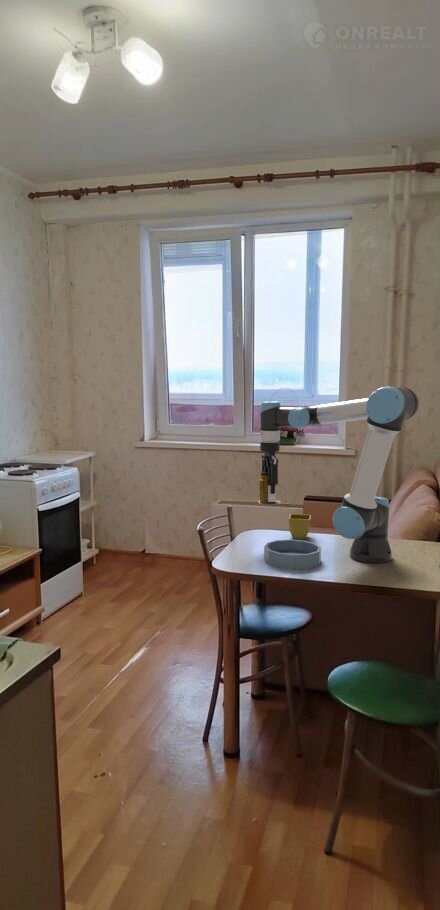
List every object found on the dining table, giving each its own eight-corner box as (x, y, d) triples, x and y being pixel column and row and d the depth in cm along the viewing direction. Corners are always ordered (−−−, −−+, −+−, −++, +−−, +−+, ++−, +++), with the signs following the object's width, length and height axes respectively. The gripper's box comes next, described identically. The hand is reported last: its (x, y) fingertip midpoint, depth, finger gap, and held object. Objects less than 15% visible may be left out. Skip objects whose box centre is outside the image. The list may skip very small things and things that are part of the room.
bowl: (308, 551, 224) (308, 538, 224) (329, 567, 205) (329, 553, 204) (258, 554, 220) (258, 541, 219) (274, 570, 200) (275, 556, 200)
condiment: (258, 500, 232) (258, 471, 231) (279, 501, 232) (280, 471, 231) (258, 504, 225) (259, 473, 224) (280, 504, 225) (281, 473, 223)
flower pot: (309, 540, 239) (310, 519, 238) (288, 539, 241) (288, 518, 240) (310, 535, 248) (311, 514, 247) (289, 534, 250) (290, 513, 248)
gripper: (253, 439, 234) (253, 495, 237) (268, 443, 216) (267, 505, 219) (271, 439, 236) (270, 495, 239) (287, 443, 218) (286, 504, 220)
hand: (269, 499), depth 229 cm, fingers closed on condiment, 6 cm apart
